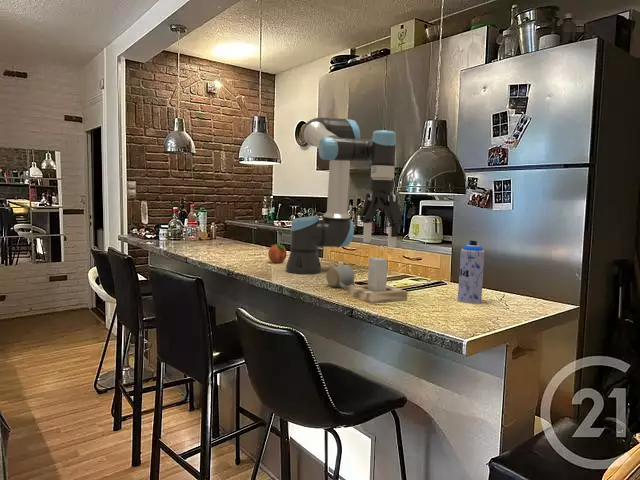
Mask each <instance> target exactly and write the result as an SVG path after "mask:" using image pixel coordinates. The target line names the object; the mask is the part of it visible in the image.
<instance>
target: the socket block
mask: <svg viewBox="0 0 640 480" xmlns="http://www.w3.org/2000/svg"><path fill="white" fill-rule="evenodd" d="M347 295H349V296H350V297H351V296H352V297H353V298H356V299H359V300H362V301H363V302H366V301H367V302H366V303H370V304H372V303H373V304H381V303H389V302H390V303H391V302H397V301H407V300H408V291H407V290H404V289H401V288H398V287H394V286H391V285H388V284H386V291H381V292H373V291H370V290H368V284H361V285H359V284H358V285H355V286H353V285H349V286H348V289H347Z"/></svg>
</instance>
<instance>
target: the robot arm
mask: <svg viewBox="0 0 640 480" xmlns="http://www.w3.org/2000/svg"><path fill="white" fill-rule="evenodd" d="M301 136H302V139H303V140H304V141H305V143H306V144H307V145H308V146H311V147H315V148H317V149H318V155H319V158H320V159H321V160H325V161H329V168H328V169H329V170H328V171H329V172H328V184H327V185H328V188H327V189H328V190H327V203H326V205H327V206H326V212H325V213H324V214H323V215H322V219H320V218H319V216H316V215H315V216H303V217H296V218H294V219H292V221H291V225H290V253H289V255H288V259H287V261H286V265H285V271H286V272H287V273H292V274H297V275H298V274H302V275H303V274H304V275H311V274H319V273H321V272H322V264H321V261H320V257H319V252H318V250H319V249H318V248H319V247H320V248H326V247H329V248H332V247H333V248H334V247H335V248H342V247H348V246H349V245H350V244H351V242H352V240H353V238H354V234H355V227H354V226H355V224H354V222H353V220H351V216H350V215H349V214H348V201H349V200H348V199H349V198H348V197H349V183H350V181H349V180H350V170H351V169H350V167H351V166H350V165H351V162H360V163H361V162H362V163H365V164H367V163H370V164H371V166H370V167H371V168H370V169H371V170H370V178H371V179H370V181H369V182H370V184H369V185H370V186H369V191H370V192H372V193H366V194H365V200H364V201H365V202H364V204H363V206H362V210H361V213H360V216H359V220H360V221H362V223H363V225H362V226H363V227H362V229H363V230H362V232H363V238H362V242H363V243H371V242H372V228H373V227H372V226H373V225H372V224H373V222H372V219H373V218H374V217H375V214H376V213H377V210H378V209H381V210H383V212H384V214H385V217H386V218H387V220H388V221H387V222H388V223H389V225H388V230H387V232H388V235H387V248H396V247H397V238H398V230H399V228H398V227H400V226H402V225H403V224H404V221H403V219H402V214H401V211H400V210H401V209H400V206H399V203H398V202H399V201H398V195H397V194H391V193H393V192H394V186H395V185H394V184H395V183H394V180H393V179H395V168H396V167H395V162H396V161H395V160H396V147H397V137H396V136H397V135H396V132H395V131H392V130H386V129H382V130H374V131H373V133H372V137H371V139H363V138H362V139H361V131H360V126H359V124H358V123H357V122H356V120H354V119H348V118H338V117H337V118H335V117H322V116H321V117H315V118H313V119H309V120H308V121H307V122H306V123H305V124H304V126H303V127H302V130H301Z"/></svg>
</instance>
